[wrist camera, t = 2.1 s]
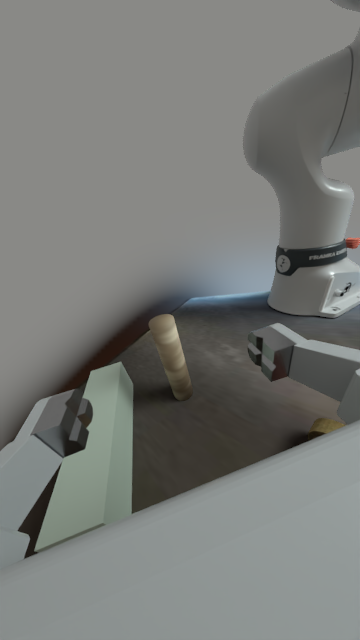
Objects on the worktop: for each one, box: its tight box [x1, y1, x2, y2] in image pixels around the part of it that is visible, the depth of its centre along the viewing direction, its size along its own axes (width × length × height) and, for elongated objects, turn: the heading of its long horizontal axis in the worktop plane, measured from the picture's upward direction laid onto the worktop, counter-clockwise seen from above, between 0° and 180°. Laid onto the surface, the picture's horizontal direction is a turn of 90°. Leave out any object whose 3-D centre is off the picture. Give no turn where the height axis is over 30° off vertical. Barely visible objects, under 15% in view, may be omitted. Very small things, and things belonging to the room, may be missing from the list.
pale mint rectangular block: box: [34, 362, 133, 553], centre depth 22 cm, size 5×18×6 cm, turn 14°
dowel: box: [149, 314, 193, 401], centre depth 24 cm, size 3×3×14 cm
